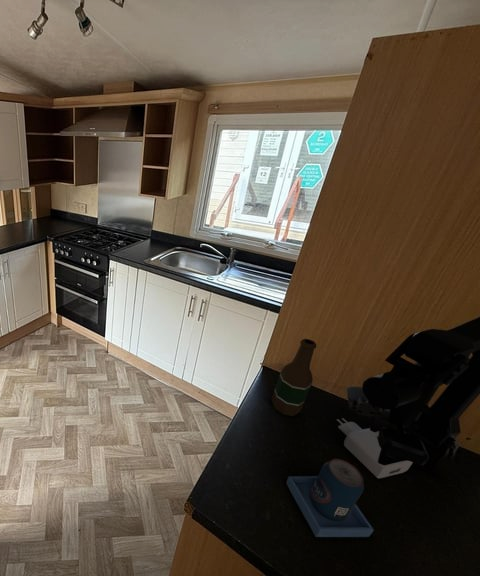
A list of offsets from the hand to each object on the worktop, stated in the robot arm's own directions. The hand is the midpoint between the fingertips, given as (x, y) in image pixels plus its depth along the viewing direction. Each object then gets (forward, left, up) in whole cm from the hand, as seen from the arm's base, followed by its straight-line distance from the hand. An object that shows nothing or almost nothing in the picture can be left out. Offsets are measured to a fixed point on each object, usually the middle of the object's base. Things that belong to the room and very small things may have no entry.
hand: (376, 446), depth 67 cm
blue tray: (+6, +10, -13) cm, 18 cm away
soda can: (+6, +10, -13) cm, 17 cm away
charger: (-3, -13, -13) cm, 19 cm away
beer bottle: (+15, -18, -13) cm, 27 cm away
